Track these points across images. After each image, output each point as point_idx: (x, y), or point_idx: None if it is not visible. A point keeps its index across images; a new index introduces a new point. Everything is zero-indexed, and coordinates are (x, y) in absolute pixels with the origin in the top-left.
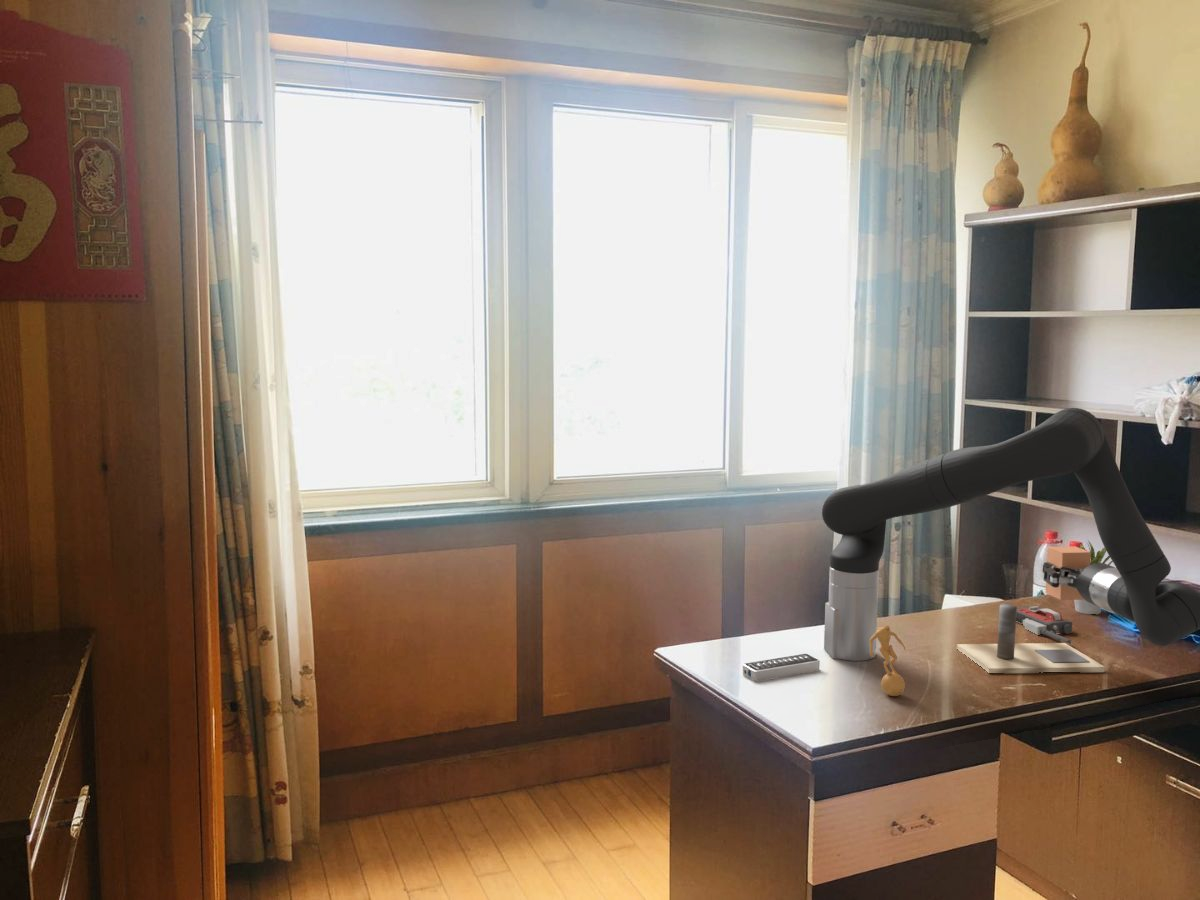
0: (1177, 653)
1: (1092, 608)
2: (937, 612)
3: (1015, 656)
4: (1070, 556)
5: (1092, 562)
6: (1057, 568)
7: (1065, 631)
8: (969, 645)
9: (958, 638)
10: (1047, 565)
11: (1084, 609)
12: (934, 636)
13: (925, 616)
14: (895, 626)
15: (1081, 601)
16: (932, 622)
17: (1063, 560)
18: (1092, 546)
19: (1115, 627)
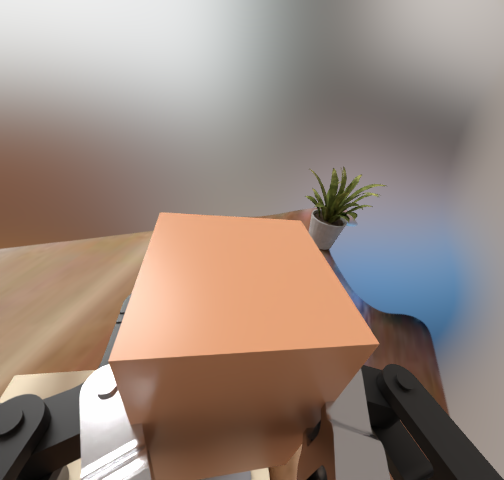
0: (424, 386)
1: (324, 244)
2: (148, 233)
3: (80, 476)
4: (199, 375)
5: (340, 196)
6: (81, 445)
7: None
8: (36, 384)
9: (88, 318)
10: None
11: (315, 243)
12: (51, 309)
13: (120, 241)
14: (31, 268)
15: (315, 235)
16: (110, 258)
17: (133, 400)
18: (345, 174)
19: (341, 282)
